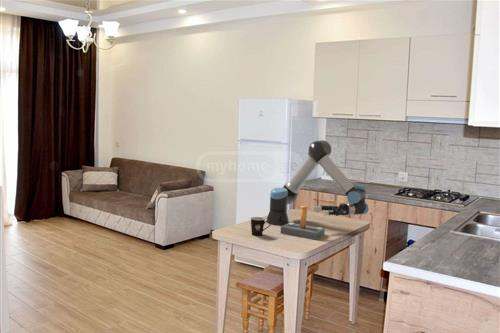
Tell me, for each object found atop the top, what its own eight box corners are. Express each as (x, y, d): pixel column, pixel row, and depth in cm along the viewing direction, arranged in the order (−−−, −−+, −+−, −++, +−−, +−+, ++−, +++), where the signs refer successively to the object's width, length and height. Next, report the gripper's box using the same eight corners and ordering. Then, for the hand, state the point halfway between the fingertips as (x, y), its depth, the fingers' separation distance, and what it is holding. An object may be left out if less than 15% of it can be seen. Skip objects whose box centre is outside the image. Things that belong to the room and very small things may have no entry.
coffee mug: (247, 235, 269) (248, 219, 268) (252, 231, 277) (253, 216, 276) (265, 237, 265) (266, 221, 264) (270, 234, 273) (271, 218, 272)
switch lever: (298, 232, 277) (299, 206, 275) (300, 231, 281) (302, 205, 279) (304, 233, 275) (306, 207, 273) (307, 232, 279) (308, 206, 277)
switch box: (280, 233, 278) (280, 226, 277) (289, 228, 290) (289, 222, 289) (316, 239, 267) (317, 232, 266) (324, 234, 279) (324, 227, 278)
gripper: (357, 219, 277) (328, 221, 269) (335, 211, 300) (308, 212, 292) (358, 207, 276) (329, 209, 268) (336, 200, 299) (308, 201, 291)
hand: (318, 211), depth 280 cm, fingers open, 13 cm apart
